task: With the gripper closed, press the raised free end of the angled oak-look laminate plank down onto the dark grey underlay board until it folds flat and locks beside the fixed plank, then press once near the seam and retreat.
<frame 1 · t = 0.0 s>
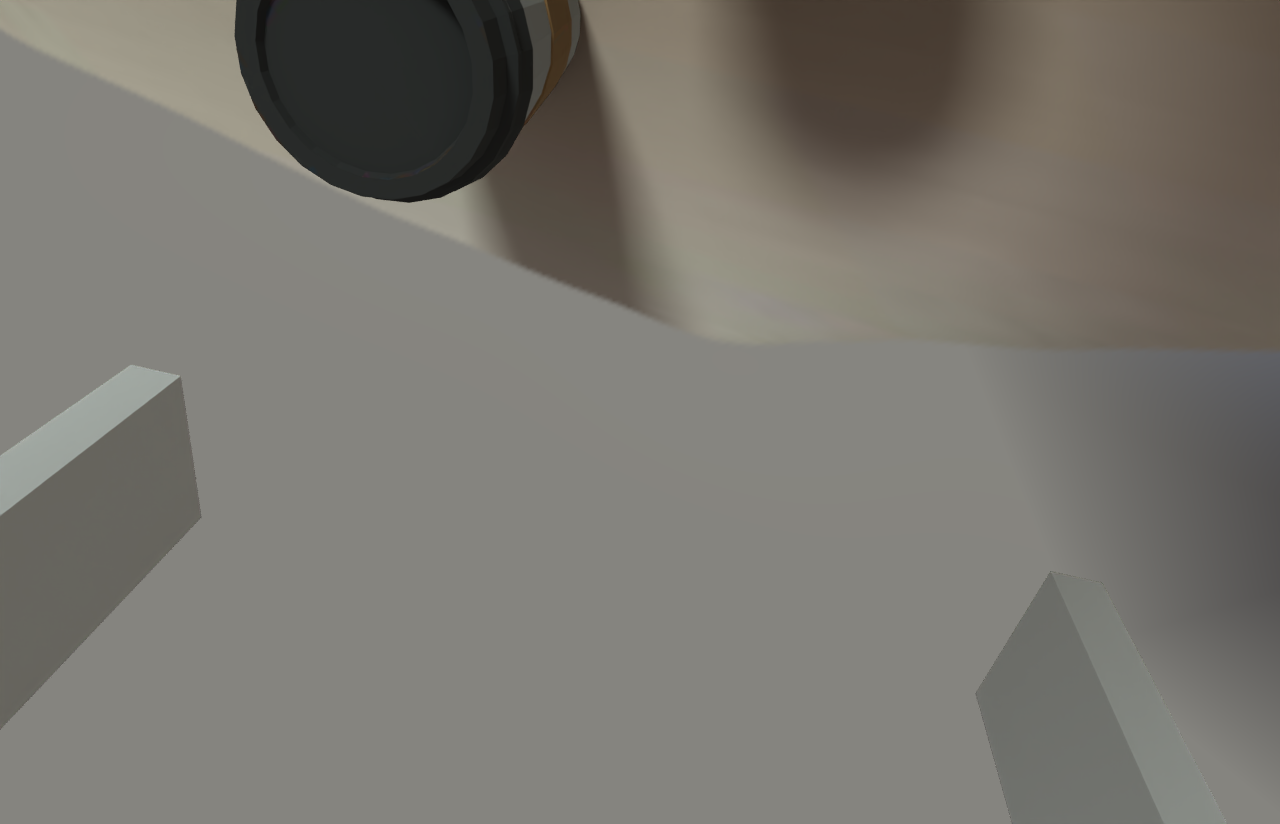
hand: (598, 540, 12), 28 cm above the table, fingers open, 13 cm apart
coffee cup: (511, 15, 35), on the table
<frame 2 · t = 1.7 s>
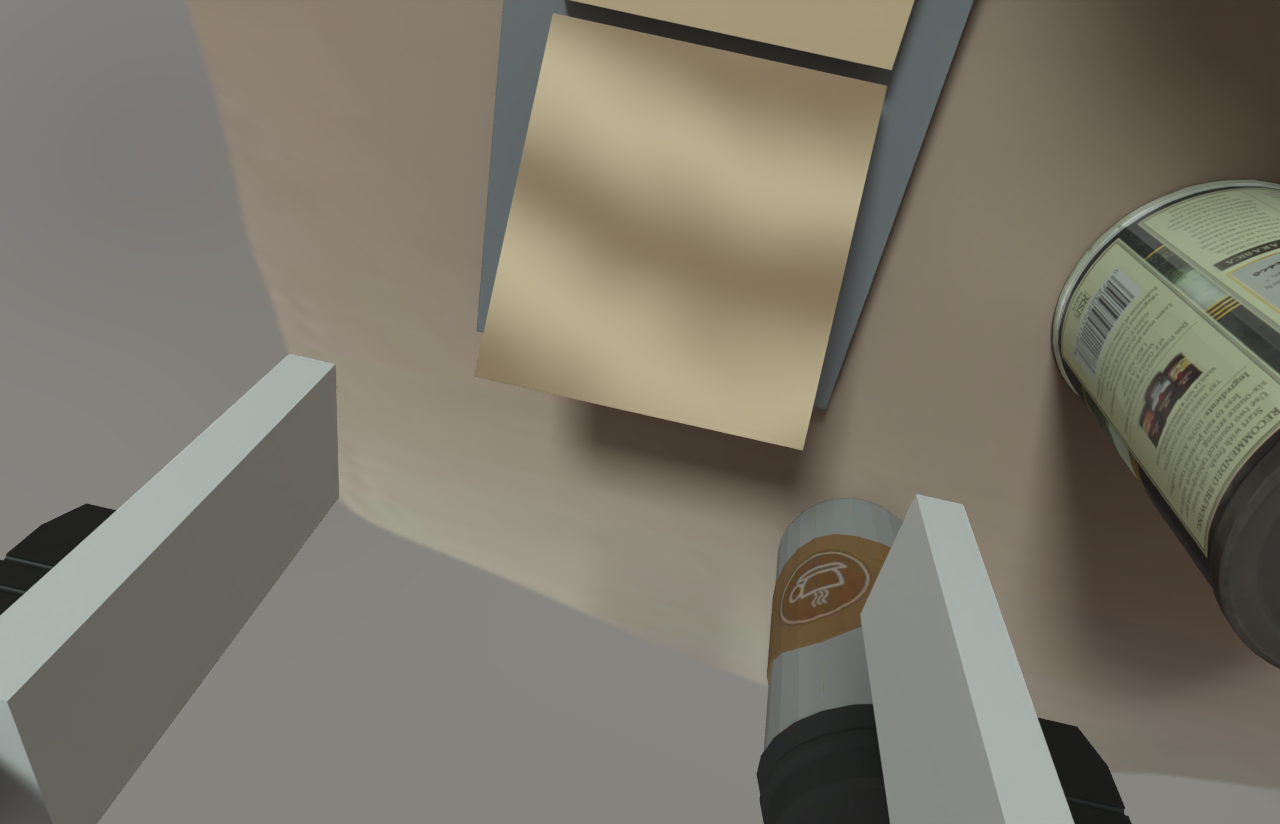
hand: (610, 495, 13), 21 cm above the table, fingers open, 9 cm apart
coffee cup: (844, 543, 39), on the table
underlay: (699, 145, 30), on the table
coffee can: (1192, 307, 31), on the table
plank: (677, 236, 27), point 5 cm above the table, hinge at -30.0°
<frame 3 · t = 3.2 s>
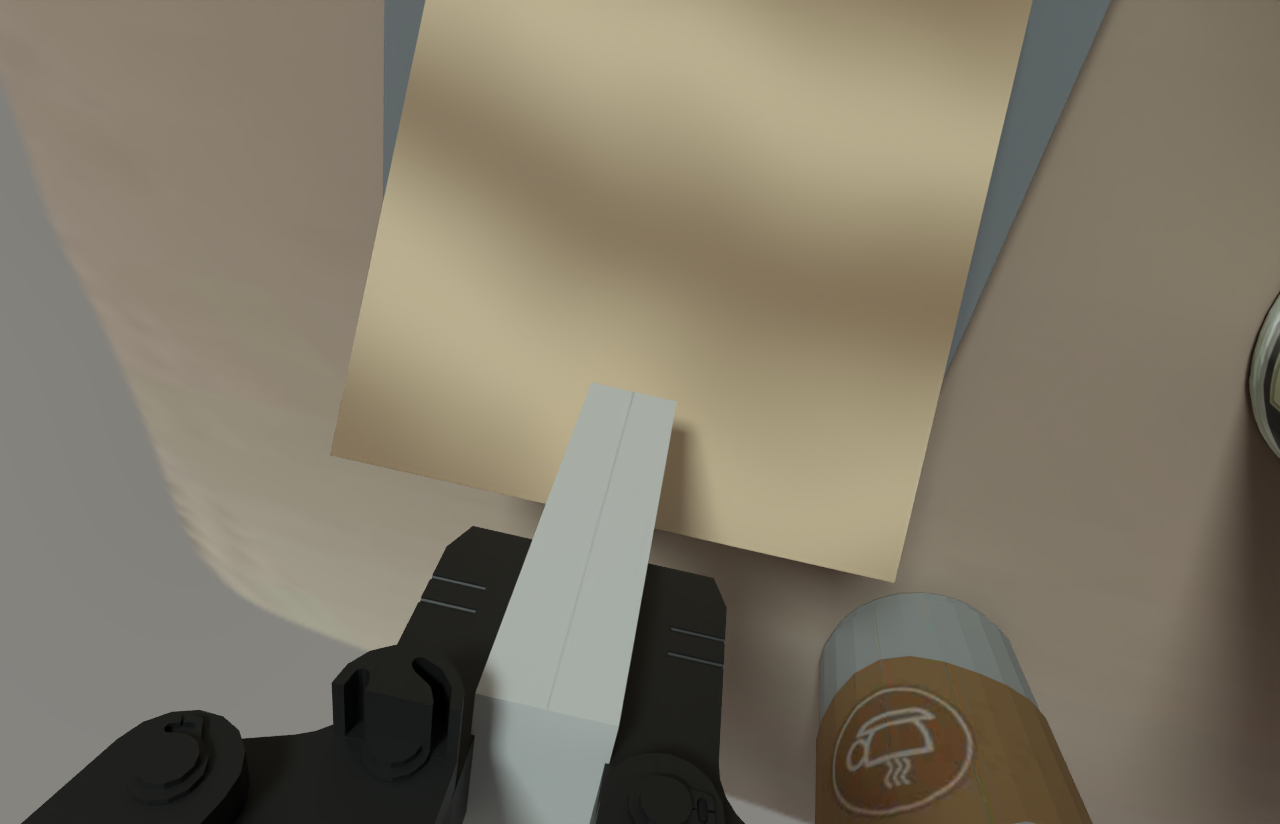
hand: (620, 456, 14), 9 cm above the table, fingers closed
coffee cup: (911, 649, 28), on the table
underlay: (713, 76, 19), on the table
plank: (679, 214, 16), point 5 cm above the table, hinge at -30.0°, touching gripper
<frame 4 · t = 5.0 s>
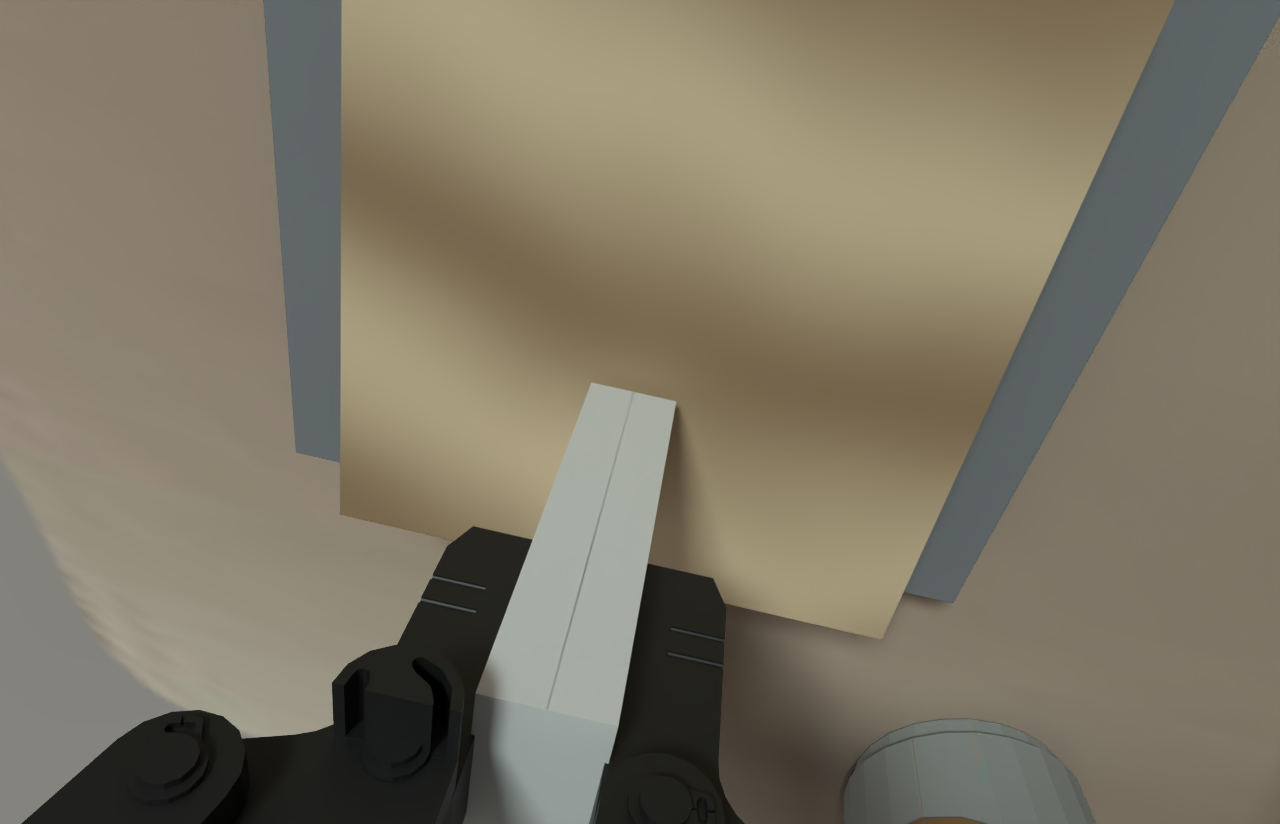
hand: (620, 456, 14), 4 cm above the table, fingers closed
coffee cup: (954, 778, 23), on the table
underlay: (716, 95, 14), on the table
plank: (673, 284, 14), point 3 cm above the table, hinge at -3.8°, touching gripper
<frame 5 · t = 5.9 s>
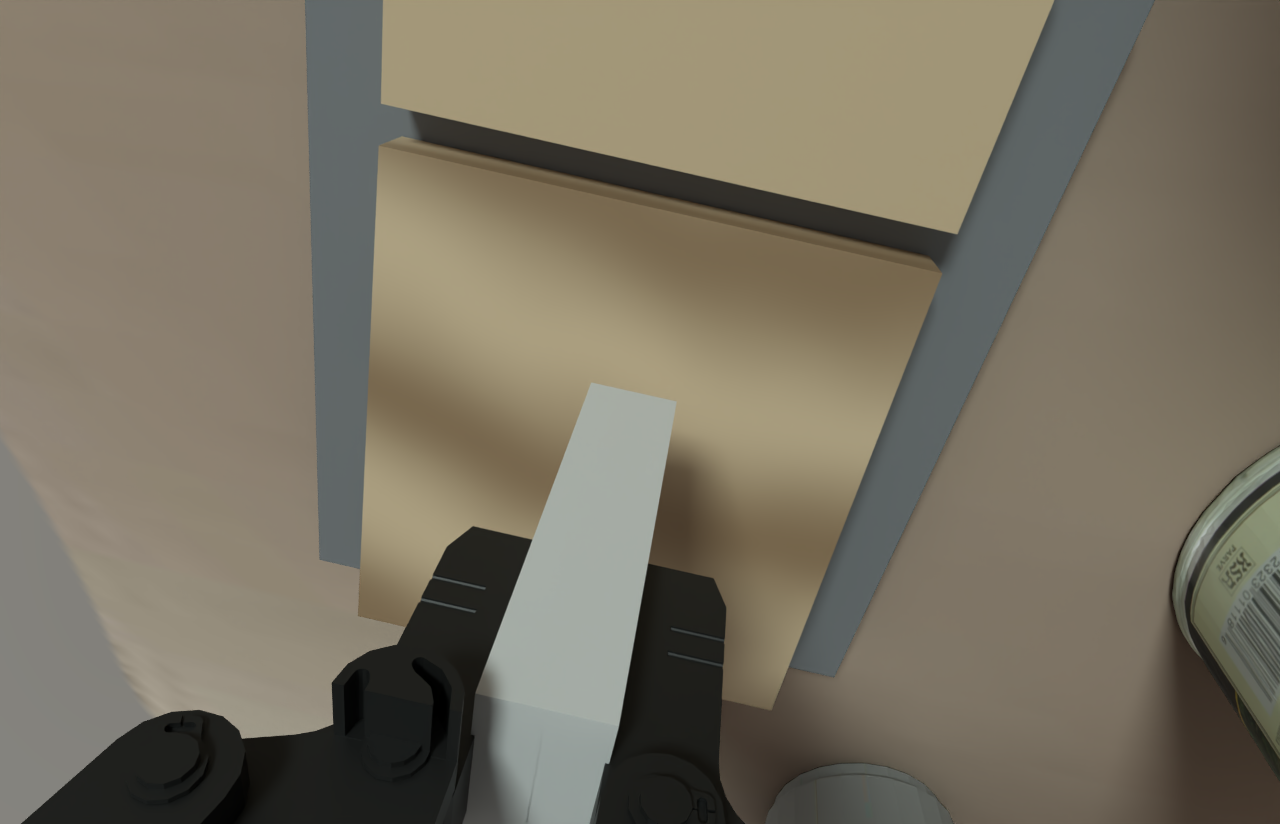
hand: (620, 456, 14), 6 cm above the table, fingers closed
coffee cup: (855, 810, 28), on the table
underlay: (642, 313, 19), on the table
plank: (608, 457, 19), point 3 cm above the table, hinge at -3.7°
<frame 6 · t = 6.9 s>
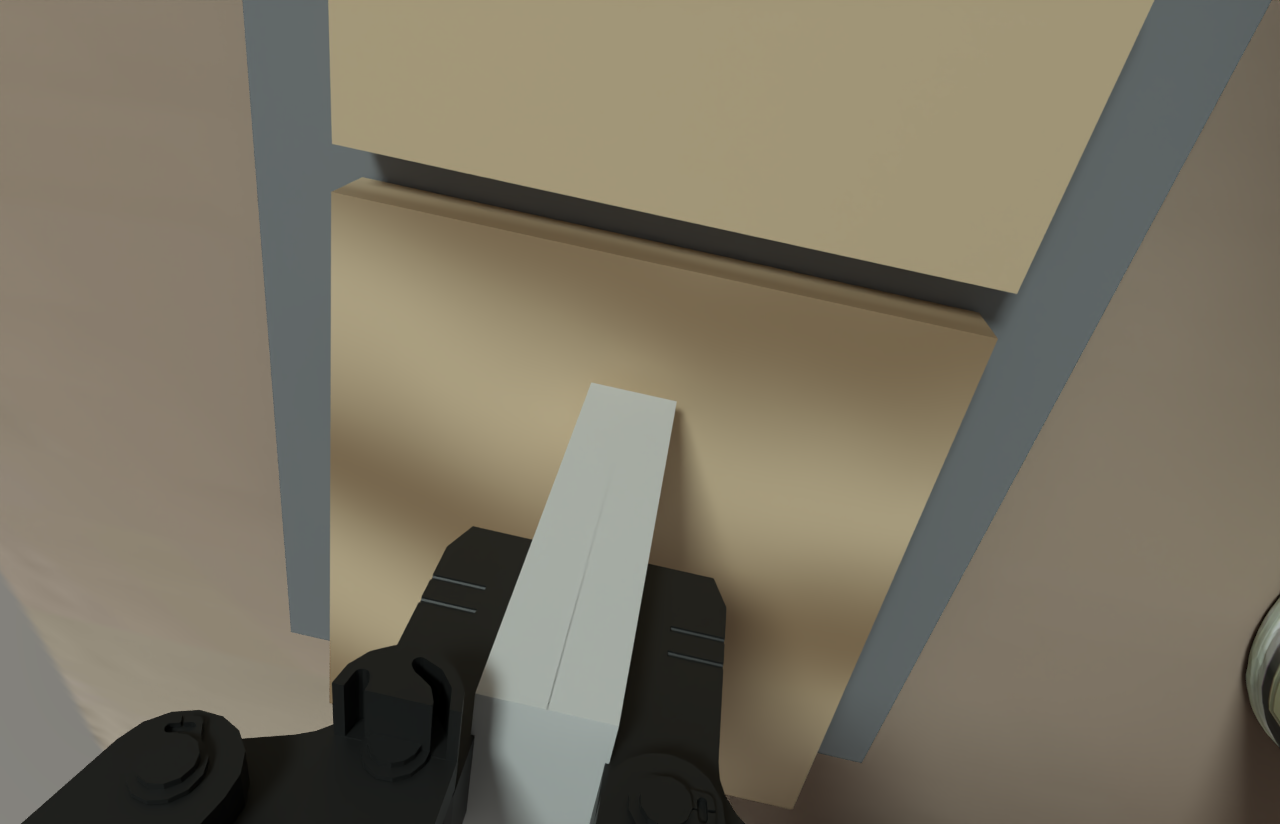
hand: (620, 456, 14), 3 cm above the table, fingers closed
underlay: (645, 368, 17), on the table
plank: (606, 536, 16), point 3 cm above the table, hinge at -3.7°, touching gripper
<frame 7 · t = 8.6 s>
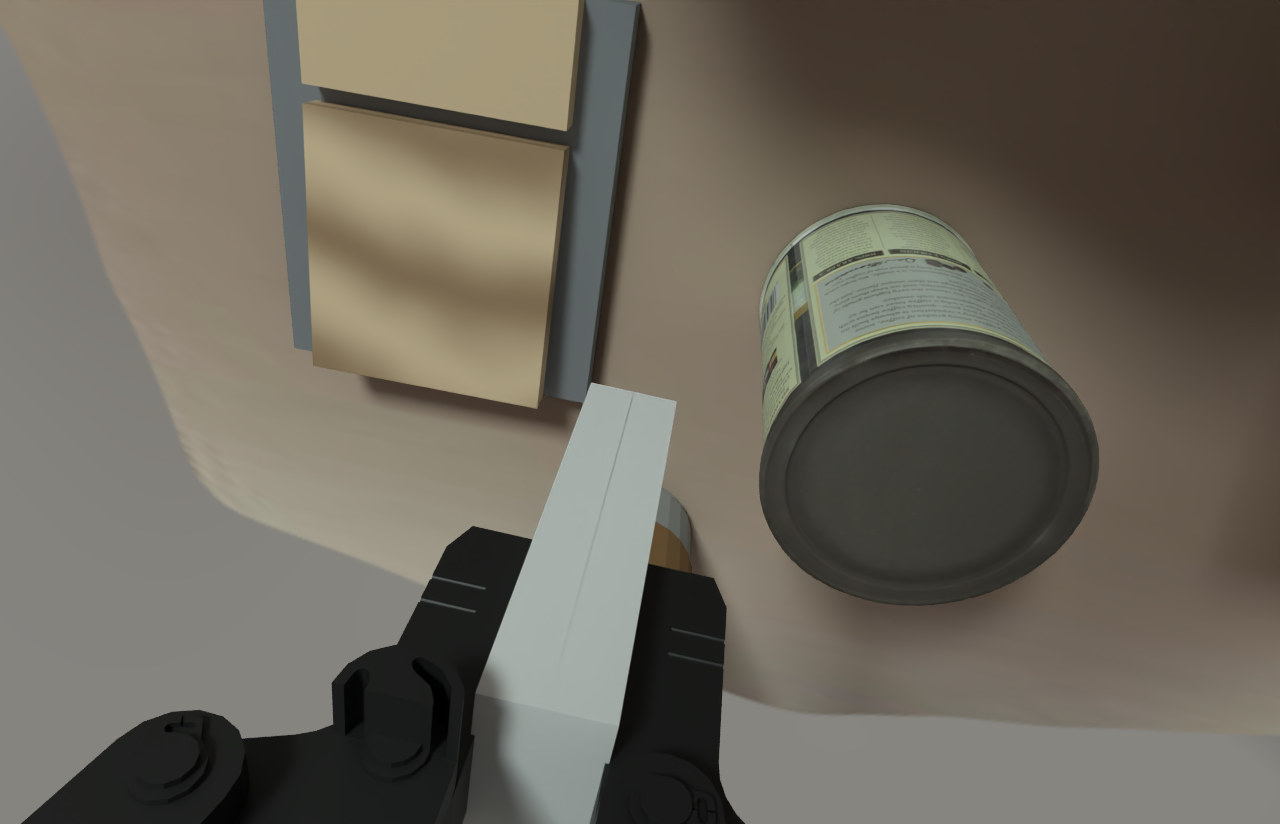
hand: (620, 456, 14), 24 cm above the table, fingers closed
coffee cup: (635, 518, 46), on the table
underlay: (452, 191, 37), on the table
coffee can: (869, 308, 38), on the table
plank: (432, 263, 36), point 3 cm above the table, hinge at -3.7°
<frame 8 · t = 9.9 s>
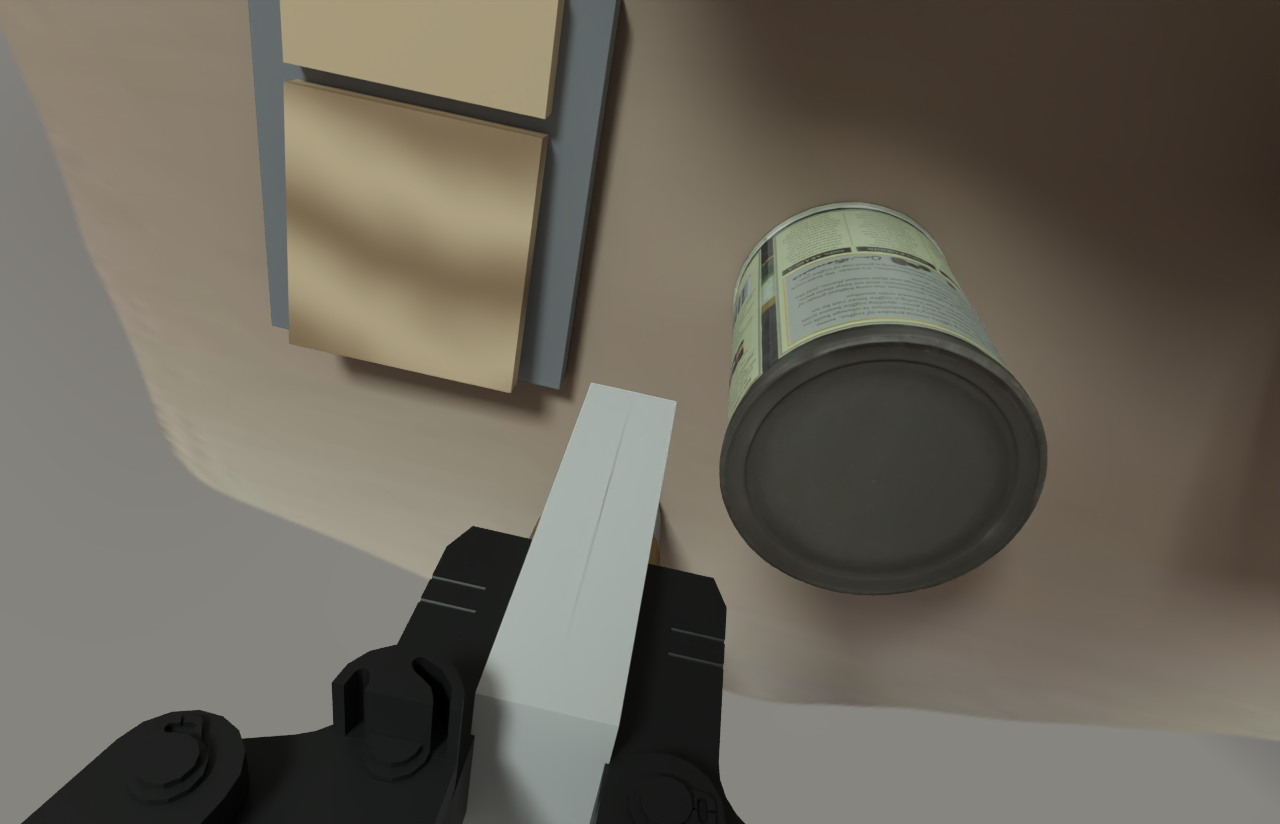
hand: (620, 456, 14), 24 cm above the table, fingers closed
coffee cup: (607, 505, 46), on the table
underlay: (432, 174, 37), on the table
coffee can: (841, 304, 38), on the table
plank: (410, 245, 37), point 3 cm above the table, hinge at -3.7°
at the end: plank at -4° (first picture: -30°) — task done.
